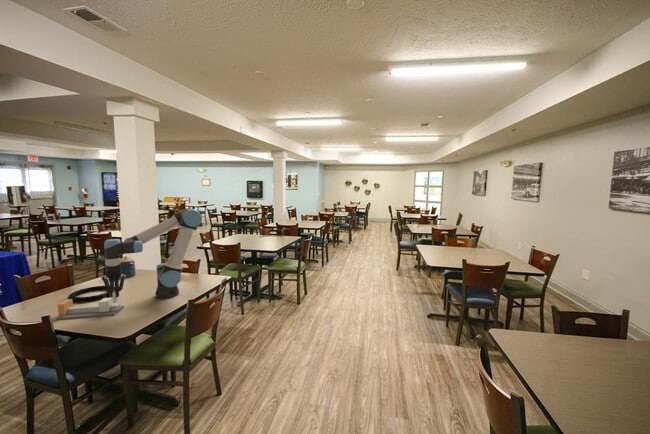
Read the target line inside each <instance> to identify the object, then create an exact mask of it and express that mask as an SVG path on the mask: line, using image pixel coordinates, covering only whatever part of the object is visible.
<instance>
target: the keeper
mask: <svg viewBox="0 0 650 434" xmlns="http://www.w3.org/2000/svg"><path fill="white" fill-rule="evenodd" d="M110 305H114V303H113V298H103V299H100V300H98V302H97V306H98V307H99V312H106V311H110Z"/></svg>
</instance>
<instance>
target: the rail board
mask: <svg viewBox="0 0 650 434" xmlns="http://www.w3.org/2000/svg"><path fill="white" fill-rule="evenodd" d="M124 308H125V306H124V305H122V304H121V303H113V305H110V311H106V312H99V307H98V305H89V306H75V307H74V302H73V301H72V299H68V298H67V299H65V300H63V301H61V302H59V303H58V304H57V312H58V315H57V317H56V320H58V321H59V320H70V319H85V318H98V317H110V316H111V317H113V316H115V315H117V314H118V313H119V312H120V311H122V310H123V309H124Z"/></svg>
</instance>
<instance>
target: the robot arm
mask: <svg viewBox="0 0 650 434" xmlns="http://www.w3.org/2000/svg"><path fill="white" fill-rule="evenodd" d="M202 221H203V216H202V213H201V212H200V211H198V210H197V209H195V208H190V207H186V208H183V209H181V210H180V211H178V212H177V213H174V214H173V215H172V216H171V217H170V218H168V219H165V220H164V221H162V222H160V223H158V224H156V225H154V226H151V227H149V228H147V229H145V230H144V231H141V232H140V233H137V234H135V235H133V236H131V237H128V238H127V237H126V239H124V240H123V241H122V242H121V241H120V239H119V238H118V239H117V238H110V239H106V240H105V241H104V243H103V246H104V251H103V252H104V260H105V261H104V264H105V273H104V275H103V276H101V278H100V279H101V280H102V281H103V283H104V286H105V287H106V290H105V291H106V293H107V292H111V298H113V304H118V302H119V297H120V292H121V291H122V290H123V289H124V285H125V284H124V283H125V279H126V278H125V277H126V275H123V274H122V272H121V265H120V263H121V262H120V259H121V255H127V254H128V255H129V254H138V253H142V252H143V250H144V247H143V245H144V244H146V243H148V242H149V241H152V240H154V239H157V238H158V237H161V236H162V235H164V234H166V233H168V232H170V231H172V230H173V229H176V228H178V227H179V231H178V233H177V235H176V240H175V242H174V244H173V248H172V250H171V253H170V256H169V259H168V261H167V262H164V263H159V264H157V265H156V279H157V280H156V281H157V287H156V290H155V294H154V296H155V299H170V298H174V297H176V296H178V295H180V289H179V286H178V285H179V284H180V282H181V279H182V275H181V274H182V272H183V266H182V264H183V262H184V259H185V256H186V254H187V251H188V248H189V245H190V242H191V239H192V237H193V233H194V232H196V231H197V229H198V227H199V225H200V224H201V222H202ZM120 276H121V278H119V277H120ZM119 280H120V281H119ZM114 287H115V290H114Z"/></svg>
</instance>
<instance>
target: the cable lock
mask: <svg viewBox="0 0 650 434" xmlns="http://www.w3.org/2000/svg"><path fill="white" fill-rule="evenodd" d="M114 290H115V286H114ZM97 291H106V292H104V293H101V294H96V295H90V296H81V295H83V294H88V293H91V292H92V293H93V292H97ZM103 298H111V292H107V290H106V287H105V285H96V286H89V287H84V288H81V289H79V290H75V291H73V292H71V293H69V295H68V296H67V299H72V301H73V303H77V304H79V303H89V302H96V301H100V300H102V299H103Z"/></svg>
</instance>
